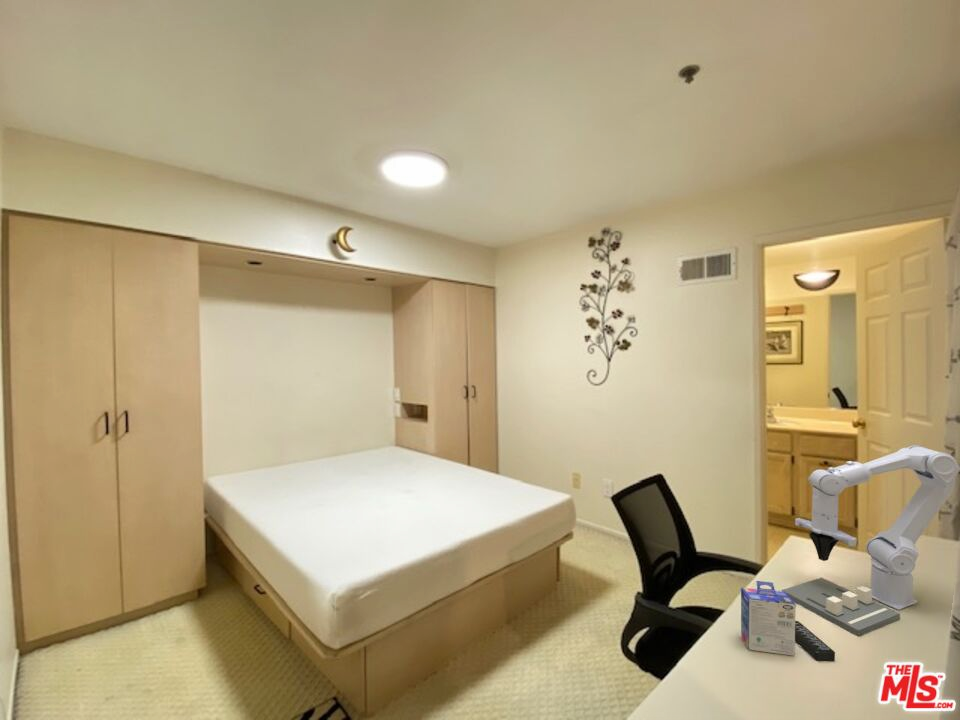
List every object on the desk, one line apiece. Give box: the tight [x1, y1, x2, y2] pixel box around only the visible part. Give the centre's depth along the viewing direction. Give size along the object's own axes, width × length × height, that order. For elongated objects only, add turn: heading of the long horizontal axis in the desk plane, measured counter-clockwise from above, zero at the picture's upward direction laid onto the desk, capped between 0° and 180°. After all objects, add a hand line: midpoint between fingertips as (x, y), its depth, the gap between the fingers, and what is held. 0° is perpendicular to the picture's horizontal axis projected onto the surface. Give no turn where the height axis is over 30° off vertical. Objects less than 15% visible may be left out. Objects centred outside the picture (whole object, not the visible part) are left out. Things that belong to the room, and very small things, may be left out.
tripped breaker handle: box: [842, 590, 860, 610], centre depth 110 cm, size 3×3×3 cm
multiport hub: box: [795, 620, 836, 662], centre depth 99 cm, size 4×11×2 cm, turn 1°
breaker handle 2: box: [855, 585, 875, 605], centre depth 113 cm, size 3×3×3 cm
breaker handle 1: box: [824, 596, 844, 616], centre depth 108 cm, size 3×3×3 cm
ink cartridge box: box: [740, 580, 797, 657], centre depth 98 cm, size 10×6×14 cm, turn 79°
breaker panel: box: [781, 577, 901, 637], centre depth 113 cm, size 18×18×2 cm
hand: (823, 559), depth 120 cm, fingers closed
